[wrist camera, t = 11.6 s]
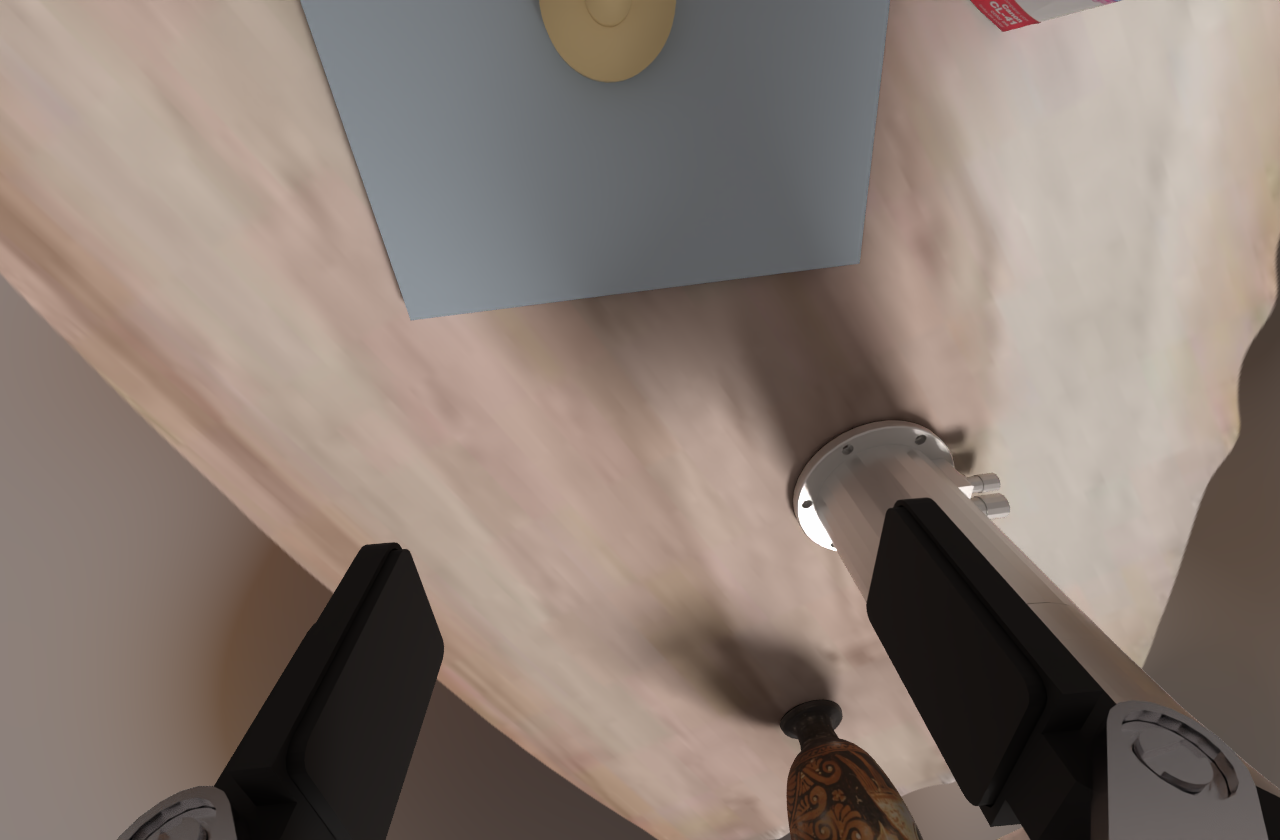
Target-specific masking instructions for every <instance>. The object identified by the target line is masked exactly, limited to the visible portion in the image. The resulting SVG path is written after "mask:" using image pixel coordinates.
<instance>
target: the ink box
mask: <svg viewBox="0 0 1280 840" xmlns="http://www.w3.org/2000/svg"><path fill="white" fill-rule="evenodd" d="M1118 1H1121V0H971V2H972V3H973V4H974V5H975V6H976V7H977V8H978V9H979V10H980V11H981V12H982V13H983V14H984V15H985V16H986V17H987V18H988V19H990V20H991V21H992V22H993V23H994V24H995V25H996V26H997V27H998V28H999V29H1000V30H1002V31H1003V32H1005V31H1009V30H1012V29H1016V28H1020V27H1023V26H1027V25H1031V24H1037V23H1041V22H1042V21H1046V20H1050V19H1054V18H1057V17H1061V16H1065V15H1068V14H1072V13H1076V12H1080V11H1084V10H1087V9H1092V8H1095V7H1099V6H1103V5H1106V4H1110V3H1114V2H1118Z"/></svg>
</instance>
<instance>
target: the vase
mask: <svg viewBox="0 0 1280 840" xmlns="http://www.w3.org/2000/svg"><path fill="white" fill-rule="evenodd" d="M841 720H842V710H841V708H840V707H839V705H838V704H836V703H834V702H832V701H827V700H816V701H810V702H807V703H804V704H801V705H799V706H797V707H795V708H793V709H792V710H791V711H790V712H788V713H787V714H786V715H785V716H784V717H783V719H782V720H781V723H780V727H781V729H782V731H783V732H784V733H785V735H787V736H789V737H791V738H795V739H798V740H799V742H800V745H801V752H800V753H799V754H798V755H797V757H796V758H795V760H794V762H793V764H792V766H791V768H790V772H789V775H788V781H787V811H788V821H789V828H790V834H791V840H923V838H922V836H921V834H920V831H919V829H918V827H917V825H916V823H915V821H914V819H913V817H912V815H911V813H910V811H909V810H908V808H907V806H906V804H905V803H904V801H903V799H902V798H901V796H900V794H899V793H898V791H897V790H896V788H895V787H894V785H893V784H892V782H891V781H890V779H889V778H888V777H887V775H886V774H885V773H884V771H883V770H882V769H881V768H880V766H879V765H878V764H877V763H876V761H875V760H874V759H873V758H872V757H871V756H870V755H869V754H868V753H867V752H866V751H864V750H863V749H861V748H860V747H858V746H857V745H855V744H854V743H851V742H849V741H846V740H843V739H839V738H838V736H837V735H836V733H835V732H834V729H836V727H837V726H838V725H839V724H840V722H841Z"/></svg>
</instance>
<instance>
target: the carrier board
mask: <svg viewBox="0 0 1280 840" xmlns="http://www.w3.org/2000/svg"><path fill="white" fill-rule="evenodd" d="M300 1H301V4H302V7H303V10H304V13H305V16H306V19H307V22H308V24H309V27H310V30H311V33H312V36H313V39H314V42H315V45H316V48H317V51H318V53H319V56H320V59H321V62H322V65H323V68H324V71H325V74H326V77H327V79H328V82H329V85H330V88H331V91H332V94H333V97H334V100H335V103H336V105H337V108H338V111H339V114H340V117H341V120H342V123H343V126H344V129H345V132H346V134H347V137H348V140H349V143H350V146H351V149H352V152H353V155H354V158H355V160H356V163H357V166H358V169H359V172H360V175H361V178H362V181H363V184H364V186H365V189H366V192H367V195H368V198H369V201H370V204H371V207H372V210H373V213H374V215H375V218H376V221H377V224H378V227H379V230H380V233H381V236H382V239H383V241H384V244H385V247H386V250H387V253H388V256H389V259H390V262H391V265H392V268H393V270H394V273H395V276H396V279H397V282H398V285H399V288H400V291H401V294H402V296H403V299H404V302H405V305H406V308H407V311H408V314H409V317H410V320H418V319H426V318H433V317H441V316H449V315H457V314H465V313H473V312H481V311H489V310H497V309H504V308H512V307H520V306H528V305H536V304H544V303H552V302H560V301H568V300H575V299H583V298H591V297H599V296H607V295H615V294H623V293H631V292H639V291H646V290H654V289H662V288H670V287H678V286H686V285H694V284H702V283H710V282H717V281H725V280H733V279H741V278H749V277H757V276H765V275H773V274H781V273H789V272H796V271H804V270H812V269H820V268H828V267H836V266H844V265H852V264H859V263H860V255H861V246H862V237H863V229H864V220H865V211H866V203H867V194H868V186H869V177H870V168H871V160H872V151H873V142H874V134H875V125H876V117H877V108H878V99H879V91H880V82H881V73H882V65H883V56H884V47H885V39H886V30H887V22H888V13H889V4H890V0H300Z"/></svg>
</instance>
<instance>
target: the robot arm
mask: <svg viewBox="0 0 1280 840" xmlns="http://www.w3.org/2000/svg"><path fill="white" fill-rule="evenodd" d="M999 488H1000V480H999V478H998V476H997V475H996V474H994V473H987V474H980V475H974V476H971V477H966V476H965V475H962V474H960V473H959V472H958V471H957V470H956V469H955V467H954V461H953V457H952V454H951V452H950V450H949V448H948V447H947V446H946V444H945V443H944V442H943V441H942V440H941V439H940V438H939V437H938V436H937V435H935V434H934V433H933V432H932V431H931V430H929V429H927V428H925V427H923V426H921V425H919V424H916V423H912V422H907V421H897V420H887V421H879V422H873V423H869V424H866V425H862V426H859V427H856V428H854V429H852V430H850V431H847V432H845V433H843V434H841V435H840V436H838V437H836V438H835V439H833V440H832V441H830V442H829V443H827V444H826V445H825V446H824V447H823V448H822V449H820V450H819V451H818V452H817V453H816V454H815V455H814V456H813V457H812V459H811V460H810V461H809V462H808V463H807V464H806V466H805V468H804V469H803V471H802V473H801V474H800V476H799V478H798V481H797V484H796V486H795V489H794V497H793V506H794V513H795V515H796V518H797V520H798V523H799V524H800V526H801V528H802V529H803V531H804V533H805V534H806V535H807V536H808V537H809V538H810V539H811V540H812V541H813V542H815V543H817V544H818V545H820V546H822V547H824V548H827V549H829V550H833V551H837V552H838V554H839V556H840V557H841V559H842V561H843V563H844V564H845V566H846V568H847V569H848V571H849V573H850V575H851V576H852V578H853V580H854V582H855V583H856V585H857V587H858V589H859V590H860V592H861V594H862V596H863V597H864V599H865V601H866V603H867V604H866V607H867V614H868V617H869V620H870V622H871V624H872V626H873V628H874V630H875V632H876V633H877V635H878V637H879V639H880V641H881V643H882V645H883V646H884V648H885V650H886V652H887V654H888V656H889V658H890V659H891V661H892V663H893V665H894V667H895V669H896V670H897V672H898V674H899V676H900V678H901V680H902V682H903V683H904V685H905V687H906V689H907V691H908V693H909V694H910V696H911V698H912V700H913V702H914V704H915V706H916V707H917V709H918V711H919V713H920V715H921V717H922V719H923V720H924V722H925V724H926V726H927V728H928V730H929V731H930V733H931V735H932V737H933V739H934V741H935V743H936V744H937V746H938V748H939V750H940V752H941V754H942V756H943V757H944V759H945V761H946V763H947V765H948V767H949V768H950V770H951V772H952V774H953V776H954V778H955V780H956V781H957V783H958V785H959V787H960V789H961V791H962V792H963V794H964V796H965V797H966V799H967V800H968V801H969V802H970V803H971V804H972V805H974V806H979V807H980V809H981V810H982V812H983V814H984V816H985V818H986V819H987V821H988V823H989V825H990V827H993V826H1004V825H1014V824H1021V825H1022V828H1020V829H1018V830H1016V831H1014V832H1012V833H1010V834H1007V835H1005V836H1003V837H1001V838H999V839H996V840H1280V789H1279V788H1277V787H1276V786H1275V785H1274V784H1272V783H1271V782H1270V781H1268V780H1267V779H1266V778H1265V777H1264V776H1263V775H1261V774H1260V773H1259V772H1258V771H1256V770H1255V769H1254V768H1252V767H1251V766H1250V765H1249V764H1248V763H1246V762H1245V761H1244V760H1243V759H1242V758H1241V757H1239V756H1238V755H1237V754H1236V753H1235V752H1234V751H1233V750H1232V749H1231V748H1230V747H1229V746H1227V745H1226V744H1225V743H1224V742H1223V741H1222V740H1221V739H1220V738H1219V737H1218V736H1217V735H1215V734H1214V733H1213V732H1211V731H1210V730H1208V729H1207V728H1206V727H1205V726H1203V725H1202V724H1201V723H1200V722H1199V721H1198V720H1196V719H1195V718H1194V717H1193V716H1192V715H1191V714H1189V713H1188V712H1187V711H1186V710H1185V709H1184V708H1182V707H1181V706H1180V705H1179V704H1178V703H1177V702H1176V701H1175V700H1174V699H1173V698H1172V697H1171V696H1169V694H1168V693H1167V692H1165V691H1164V690H1163V689H1162V688H1161V687H1160V686H1159V685H1158V684H1157V683H1156V682H1155V681H1154V680H1153V679H1152V678H1151V677H1149V676H1148V675H1147V674H1146V673H1145V672H1144V671H1143V670H1142V669H1141V668H1140V667H1139V666H1138V665H1137V664H1136V663H1135V662H1134V661H1133V660H1132V659H1131V658H1129V657H1128V656H1127V655H1126V654H1125V653H1124V652H1123V651H1122V650H1121V649H1120V648H1119V647H1118V646H1117V645H1116V644H1115V643H1114V642H1113V641H1112V640H1111V639H1110V638H1109V637H1108V636H1107V635H1106V634H1105V633H1104V632H1103V631H1102V630H1101V629H1100V628H1099V627H1098V626H1097V625H1096V624H1095V623H1094V622H1093V621H1092V620H1091V619H1090V618H1089V617H1088V616H1087V615H1086V614H1085V613H1084V612H1083V611H1082V610H1081V609H1080V608H1079V607H1078V606H1077V605H1076V604H1075V603H1074V602H1073V601H1072V600H1071V599H1070V598H1069V597H1068V596H1066V595H1065V594H1064V593H1063V592H1062V591H1061V590H1060V589H1059V588H1058V587H1057V586H1056V585H1055V584H1054V583H1053V582H1052V581H1051V580H1050V579H1049V578H1048V577H1047V576H1046V575H1045V574H1044V573H1043V572H1042V571H1041V570H1040V569H1039V568H1038V567H1037V566H1036V565H1035V564H1034V563H1033V562H1032V561H1031V560H1030V559H1029V558H1028V557H1027V556H1026V555H1025V554H1024V553H1023V552H1022V551H1021V550H1020V549H1019V548H1018V547H1017V546H1016V545H1015V544H1014V543H1013V542H1012V541H1011V540H1010V539H1009V538H1008V537H1007V536H1006V535H1005V534H1004V533H1003V532H1002V531H1001V530H1000V529H999V528H998V527H997V526H996V525H995V524H994V523H993V522H992V521H991V520H992V519H999V518H1005V517H1007V516H1008V515H1009V513H1010V506H1009V503H1008V500H1007V499H1006V498H1005V496H1004V495H1002V494H1000V493H995V494H988V495H981V496H974V497H973V498H971V495H972V493H976V492H978V493H982V492H990V491H997V490H999ZM443 654H444V643H443V639H442V636H441V633H440V631H439V628H438V625H437V623H436V620H435V617H434V615H433V612H432V609H431V606H430V604H429V601H428V598H427V596H426V593H425V590H424V588H423V585H422V582H421V580H420V577H419V574H418V572H417V569H416V566H415V564H414V561H413V558H412V555H411V553H410V551H409V550H408V549H402V548H401V546H400V545H399V544H398V543H394V542H393V543H382V544H370V545H365V546H363V547H362V548H361V549H360V551H359V552H358V554H357V555H356V557H355V559H354V560H353V562H352V564H351V565H350V567H349V569H348V570H347V572H346V574H345V575H344V577H343V579H342V580H341V582H340V584H339V585H338V587H337V589H336V590H335V592H334V594H333V595H332V597H331V599H330V600H329V602H328V604H327V605H326V607H325V609H324V610H323V612H322V614H321V615H320V617H319V619H318V620H317V622H316V623H315V624H314V625H313V626H312V627H311V628H310V630H309V631H308V632H307V634H306V636H305V637H304V639H303V640H302V642H301V644H300V646H299V647H298V649H297V650H296V652H295V654H294V655H293V657H292V659H291V660H290V662H289V664H288V665H287V667H286V669H285V670H284V672H283V673H282V675H281V677H280V678H279V680H278V682H277V683H276V685H275V687H274V688H273V690H272V692H271V693H270V695H269V696H268V698H267V700H266V701H265V703H264V705H263V706H262V708H261V710H260V711H259V713H258V715H257V716H256V718H255V720H254V721H253V723H252V724H251V726H250V728H249V729H248V731H247V733H246V734H245V736H244V738H243V739H242V741H241V743H240V744H239V746H238V747H237V749H236V751H235V752H234V754H233V756H232V757H231V759H230V761H229V762H228V764H227V766H226V767H225V769H224V771H223V772H222V774H221V775H220V777H219V779H218V780H217V782H216V784H215V785H214V786H197V787H193V788H190V789H187V790H183V791H180V792H178V793H176V794H174V795H172V796H170V797H168V798H167V799H165V800H163V801H161V802H159V803H158V804H157V805H155V806H154V807H152V808H151V809H150V810H148V811H147V812H146V813H144V814H143V815H142V816H140V817H139V818H138V819H137V820H136V821H135V822H134V823H133V824H132V825H131V826H130V827H129V828H128V829H126V830H125V831H124V832H123V833H122V834H121V835H120V836H119V838H118V839H117V840H386V836H387V833H388V830H389V827H390V824H391V821H392V818H393V814H394V811H395V807H396V805H397V802H398V799H399V795H400V792H401V789H402V786H403V783H404V779H405V776H406V773H407V770H408V767H409V764H410V761H411V758H412V754H413V751H414V748H415V745H416V742H417V739H418V736H419V732H420V729H421V726H422V723H423V720H424V717H425V713H426V710H427V707H428V704H429V701H430V698H431V695H432V691H433V688H434V685H435V682H436V679H437V676H438V673H439V669H440V666H441V663H442V660H443Z"/></svg>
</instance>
